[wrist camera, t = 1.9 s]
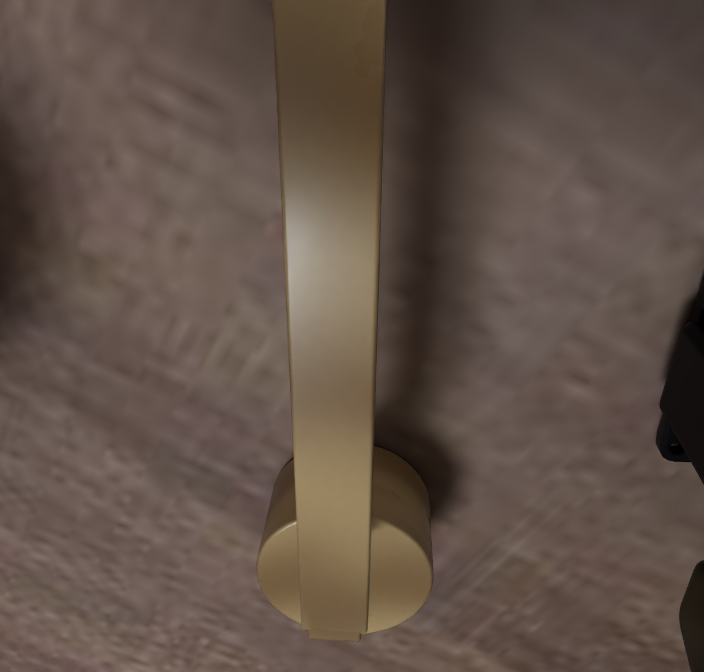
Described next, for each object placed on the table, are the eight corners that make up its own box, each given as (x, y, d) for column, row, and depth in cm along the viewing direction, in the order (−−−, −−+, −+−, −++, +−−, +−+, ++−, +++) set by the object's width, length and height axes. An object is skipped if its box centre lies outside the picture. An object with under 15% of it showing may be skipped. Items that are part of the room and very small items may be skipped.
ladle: (232, -91, 14) (124, -117, 8) (481, -90, 13) (537, -116, 8) (276, 553, 23) (239, 739, 17) (424, 561, 23) (432, 751, 17)
